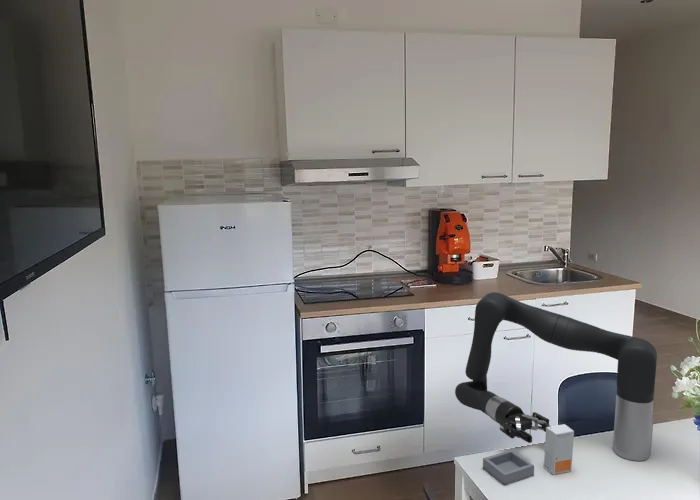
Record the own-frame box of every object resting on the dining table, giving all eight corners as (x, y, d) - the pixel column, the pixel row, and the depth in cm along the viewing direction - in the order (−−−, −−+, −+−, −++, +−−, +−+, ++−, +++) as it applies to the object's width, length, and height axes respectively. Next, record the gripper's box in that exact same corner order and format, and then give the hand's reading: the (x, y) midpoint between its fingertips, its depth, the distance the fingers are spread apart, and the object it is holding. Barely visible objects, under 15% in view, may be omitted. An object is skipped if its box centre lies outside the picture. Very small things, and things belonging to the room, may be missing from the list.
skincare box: (553, 475, 141) (555, 434, 139) (543, 466, 145) (545, 426, 143) (572, 471, 142) (574, 430, 140) (562, 463, 147) (564, 423, 145)
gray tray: (511, 459, 149) (511, 449, 148) (533, 475, 141) (534, 465, 140) (482, 468, 145) (483, 458, 144) (504, 485, 137) (504, 475, 136)
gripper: (485, 405, 159) (523, 429, 144) (522, 396, 165) (562, 418, 150) (485, 428, 160) (522, 454, 146) (521, 418, 166) (561, 442, 151)
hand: (542, 436), depth 148 cm, fingers open, 8 cm apart
